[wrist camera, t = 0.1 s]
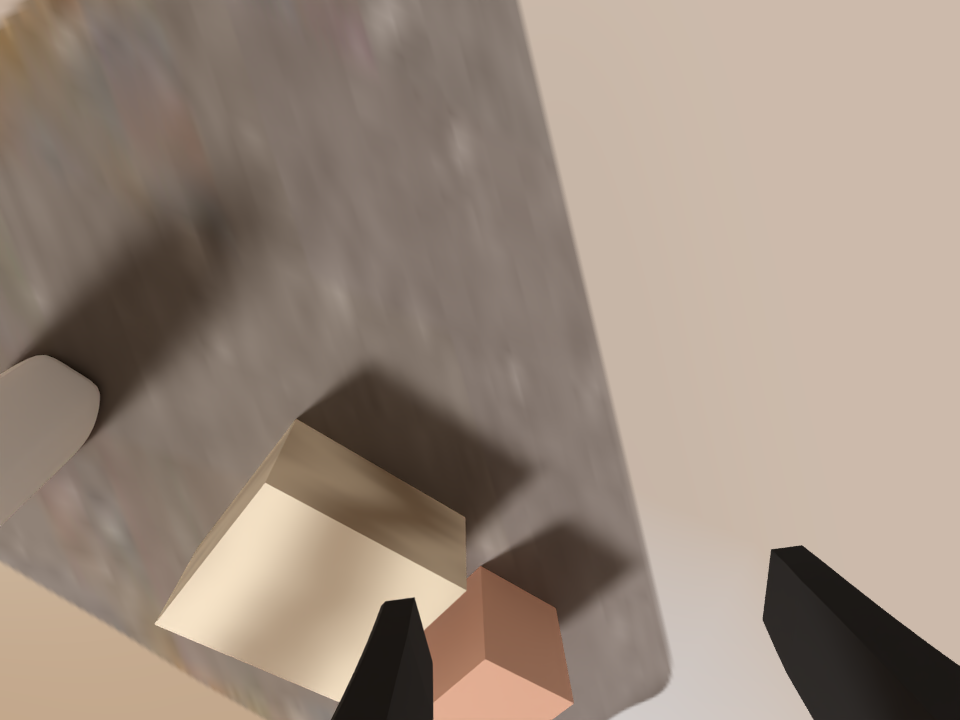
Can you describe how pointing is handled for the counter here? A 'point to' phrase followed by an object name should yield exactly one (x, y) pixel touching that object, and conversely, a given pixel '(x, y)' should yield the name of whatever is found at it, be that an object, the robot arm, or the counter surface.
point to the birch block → (316, 563)
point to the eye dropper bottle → (40, 425)
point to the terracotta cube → (498, 655)
